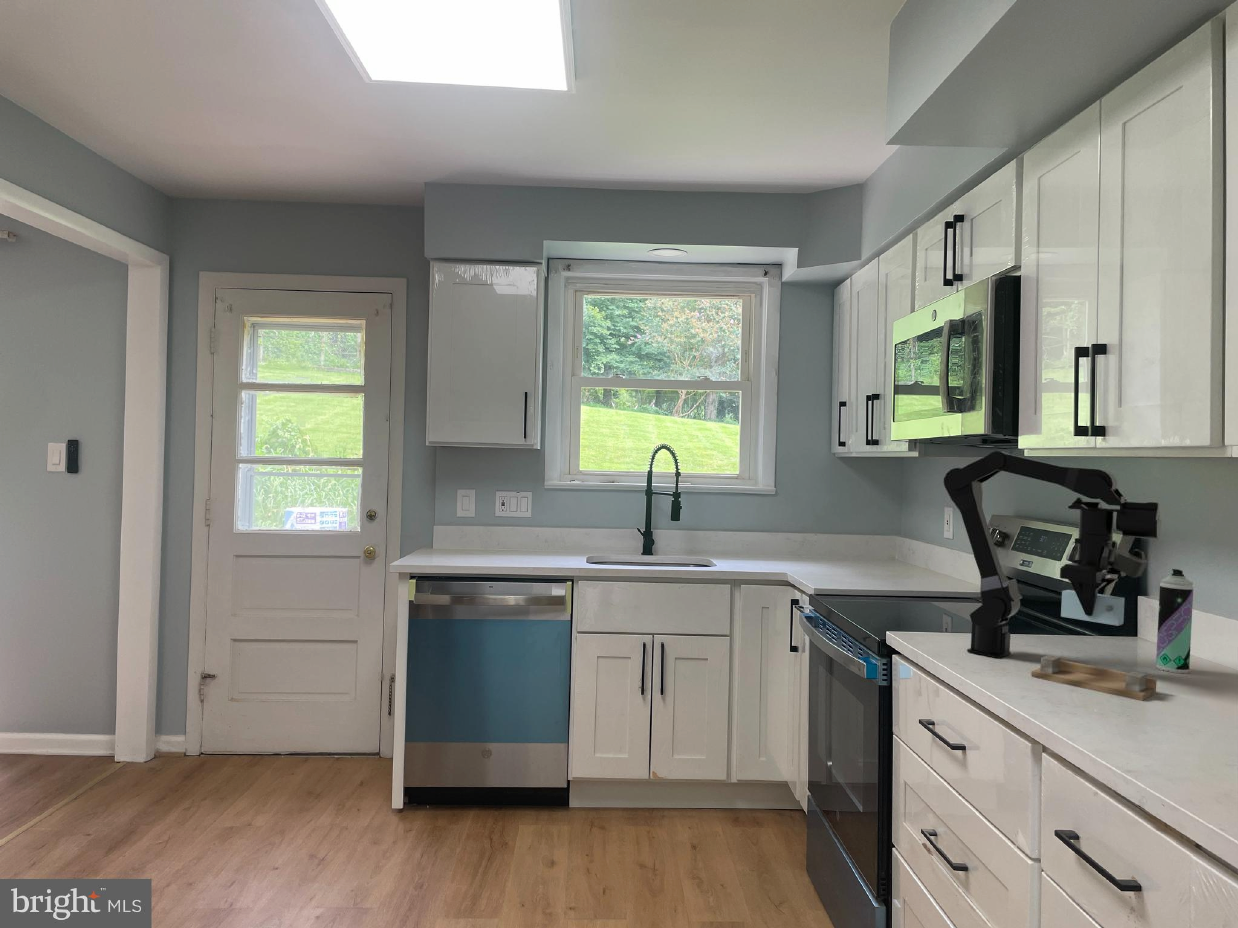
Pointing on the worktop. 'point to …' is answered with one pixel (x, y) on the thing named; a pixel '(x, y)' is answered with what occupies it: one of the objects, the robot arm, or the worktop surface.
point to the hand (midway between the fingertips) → (1091, 614)
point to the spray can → (1174, 623)
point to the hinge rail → (1096, 678)
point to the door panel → (1104, 610)
